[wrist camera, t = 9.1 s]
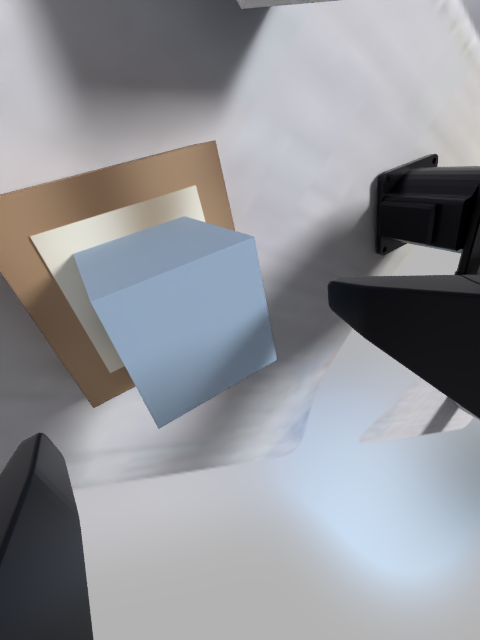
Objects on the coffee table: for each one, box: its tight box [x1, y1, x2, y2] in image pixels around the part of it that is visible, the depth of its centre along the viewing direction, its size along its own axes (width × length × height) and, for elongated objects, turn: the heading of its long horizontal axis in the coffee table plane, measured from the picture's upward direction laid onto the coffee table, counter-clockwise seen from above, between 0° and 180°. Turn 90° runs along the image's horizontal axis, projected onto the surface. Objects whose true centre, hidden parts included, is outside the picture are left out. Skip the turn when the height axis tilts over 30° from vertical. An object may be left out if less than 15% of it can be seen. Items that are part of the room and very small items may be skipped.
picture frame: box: [0, 141, 235, 408], centre depth 15 cm, size 10×10×3 cm
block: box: [73, 216, 277, 428], centre depth 12 cm, size 5×5×6 cm
